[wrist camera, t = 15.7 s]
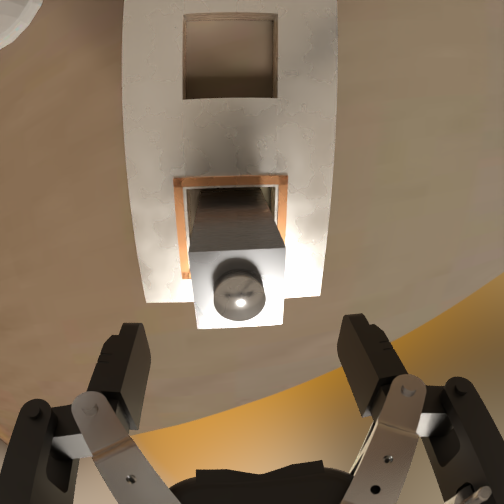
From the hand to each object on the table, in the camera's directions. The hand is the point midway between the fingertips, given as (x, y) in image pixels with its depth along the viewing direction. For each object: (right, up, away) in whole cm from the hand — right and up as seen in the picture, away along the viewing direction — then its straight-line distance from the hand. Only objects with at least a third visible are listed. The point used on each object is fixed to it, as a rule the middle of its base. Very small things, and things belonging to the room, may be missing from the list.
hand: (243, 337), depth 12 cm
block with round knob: (-1, +6, +12) cm, 13 cm away
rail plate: (-1, +11, +9) cm, 15 cm away
